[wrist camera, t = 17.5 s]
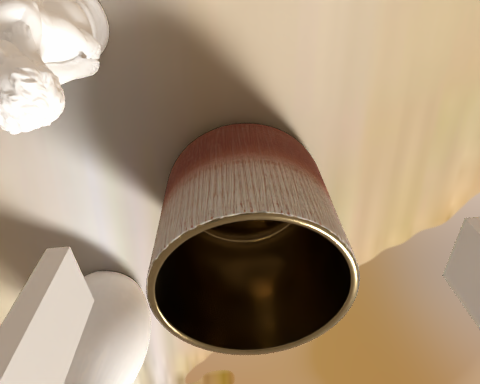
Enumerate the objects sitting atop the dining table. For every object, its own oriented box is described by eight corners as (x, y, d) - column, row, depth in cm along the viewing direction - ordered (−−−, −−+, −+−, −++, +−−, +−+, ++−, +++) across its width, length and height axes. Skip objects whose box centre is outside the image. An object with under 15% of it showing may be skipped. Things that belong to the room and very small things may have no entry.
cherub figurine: (133, 47, 40) (64, 127, 23) (54, 100, 44) (-61, 207, 26) (52, -66, 34) (-133, -80, 16) (-33, 5, 37) (-268, 59, 19)
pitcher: (45, 264, 59) (-68, 461, 36) (142, 252, 58) (90, 444, 35) (97, 344, 72) (38, 525, 49) (176, 335, 72) (154, 514, 49)
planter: (344, 144, 49) (407, 242, 32) (283, 254, 60) (306, 368, 44) (190, 96, 44) (170, 182, 27) (155, 226, 55) (127, 341, 39)
